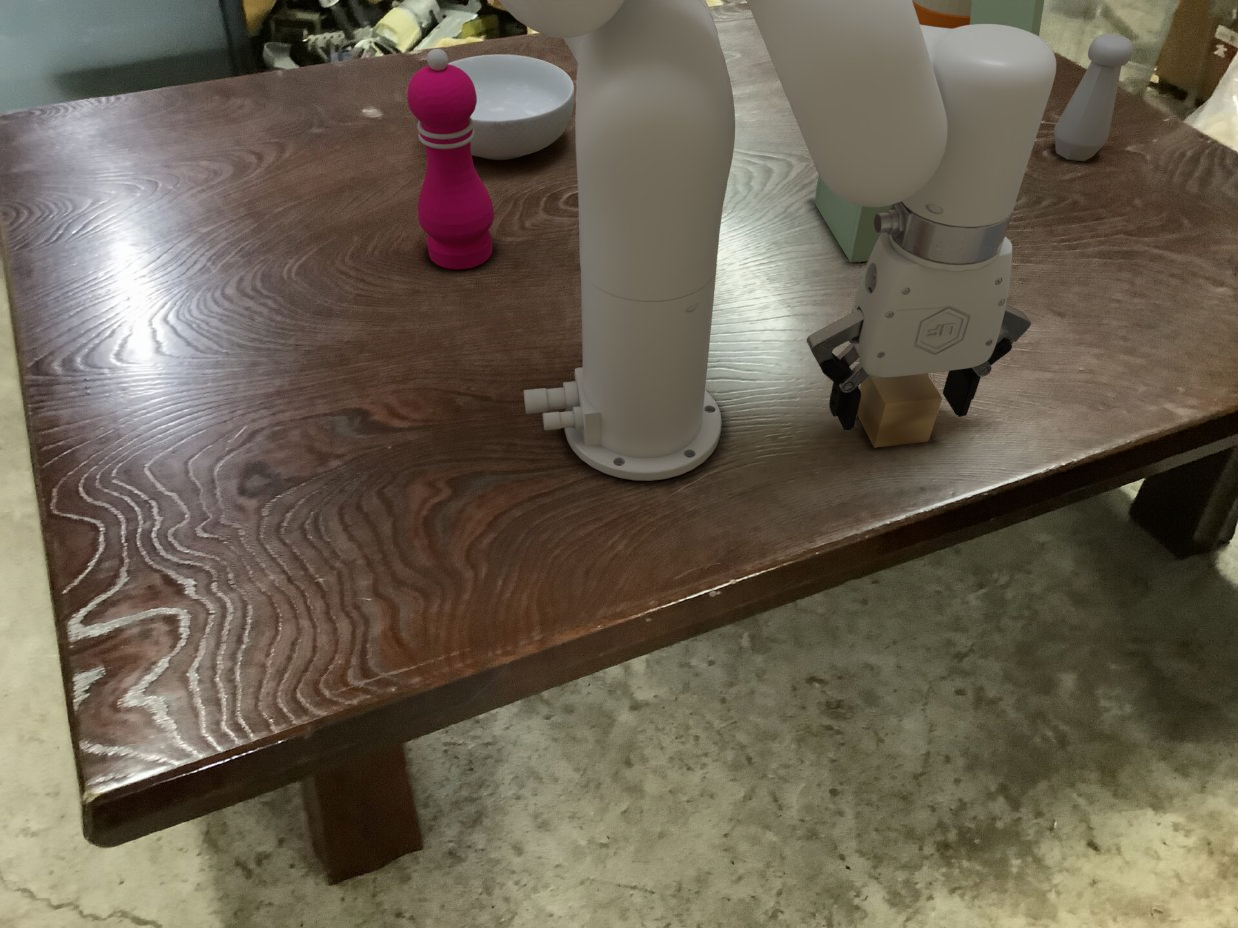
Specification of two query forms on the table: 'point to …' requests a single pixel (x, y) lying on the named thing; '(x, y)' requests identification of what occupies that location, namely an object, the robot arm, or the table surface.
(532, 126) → the cereal bowl
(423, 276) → the table surface
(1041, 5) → the lid
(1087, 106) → the salt shaker
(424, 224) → the pepper mill
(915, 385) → the block
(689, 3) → the robot arm
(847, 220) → the chest
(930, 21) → the reusable coffee cup
